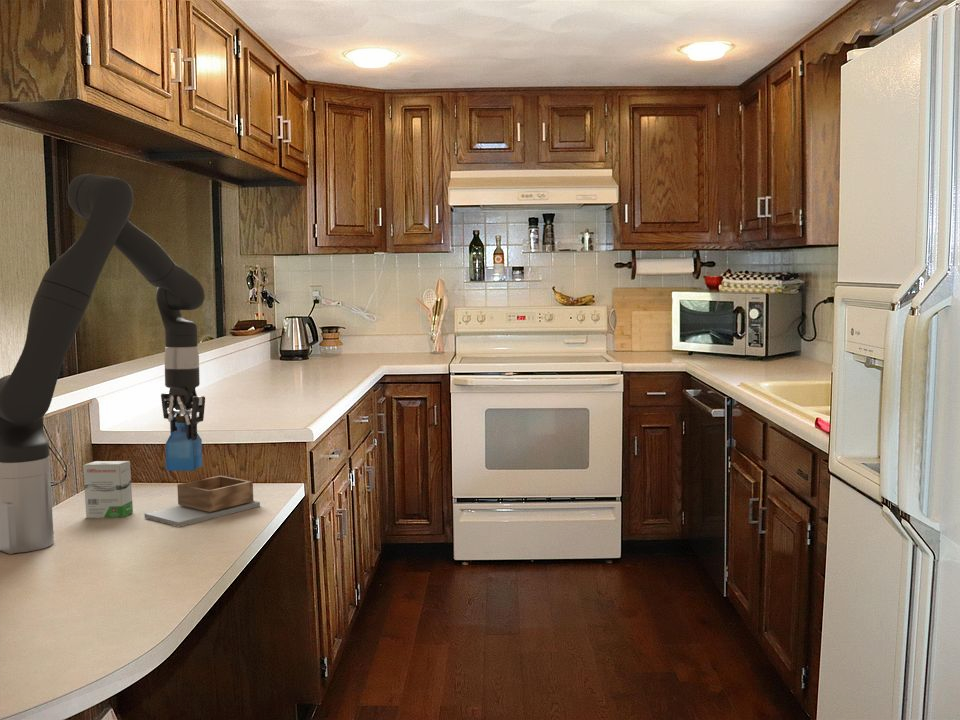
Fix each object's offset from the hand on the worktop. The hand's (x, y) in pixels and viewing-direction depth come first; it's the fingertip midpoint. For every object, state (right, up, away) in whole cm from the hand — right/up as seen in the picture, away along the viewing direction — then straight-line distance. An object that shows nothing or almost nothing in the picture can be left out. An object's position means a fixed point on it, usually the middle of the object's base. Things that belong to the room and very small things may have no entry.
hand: (183, 438), depth 200 cm
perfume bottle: (0, -7, 0) cm, 7 cm away
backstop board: (+7, -16, -8) cm, 19 cm away
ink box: (-13, -16, -10) cm, 23 cm away
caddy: (+9, -14, -6) cm, 18 cm away
